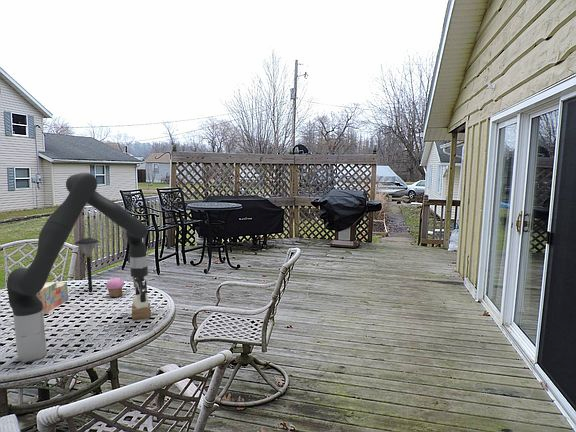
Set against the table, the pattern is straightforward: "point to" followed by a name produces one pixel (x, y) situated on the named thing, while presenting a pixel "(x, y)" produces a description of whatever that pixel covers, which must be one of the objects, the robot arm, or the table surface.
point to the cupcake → (115, 287)
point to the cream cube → (138, 303)
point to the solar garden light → (88, 255)
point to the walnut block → (141, 312)
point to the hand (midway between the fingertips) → (140, 299)
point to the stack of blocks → (52, 295)
